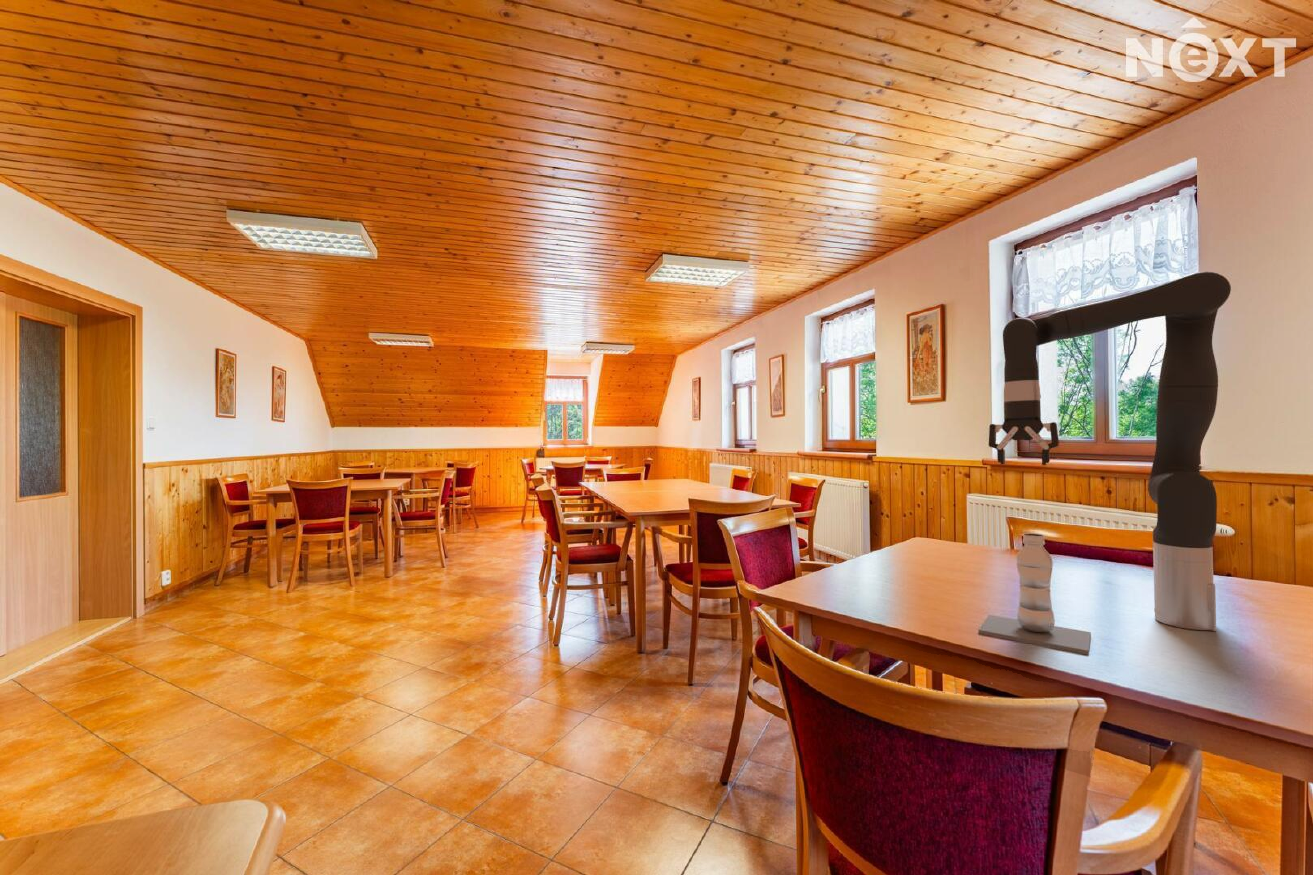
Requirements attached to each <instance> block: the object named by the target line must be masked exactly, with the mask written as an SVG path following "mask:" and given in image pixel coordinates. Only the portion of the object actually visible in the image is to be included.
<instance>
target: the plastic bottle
mask: <svg viewBox="0 0 1313 875" xmlns="http://www.w3.org/2000/svg"><path fill="white" fill-rule="evenodd" d="M1022 537H1023V538H1022V543H1023V544H1024V545H1023V546H1022V548H1021V549H1020V550H1019V551H1018V553H1016V557H1015V562H1016V568H1017V574H1018V583H1019V600H1018V601H1019V602H1018V606H1017V612H1016V616H1017V620H1018V622H1019V624H1020V625H1021V627H1022V628H1024V629H1027V630H1030V631H1035V632H1050V631H1051V630H1052V629H1053V628H1054V626H1055V621H1056V620H1055V613H1054V611H1053V605H1052V598H1051V586H1052V585H1051V580H1052V574H1053V573H1052V572H1053V566H1054V562H1053V561H1054V560H1053V558H1052V556H1051V555H1050V553H1049V552H1048V551H1047V550H1046V549H1045V547H1044V545H1045V544H1046V541H1045V535H1044V534H1041V533H1040V534H1039V533H1028V532H1027V533H1025V532H1024V533H1023V534H1022Z"/></svg>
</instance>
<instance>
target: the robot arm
mask: <svg viewBox="0 0 1313 875" xmlns="http://www.w3.org/2000/svg"><path fill="white" fill-rule="evenodd" d="M1231 291H1232V286H1231V284H1230V282H1229V280H1228V279H1227V278H1226V277H1225V276H1224V275H1222V274H1220V273H1217V272H1213V271H1198V272H1194V273H1191V274H1187V275H1185V276H1182V277H1180V278H1177V279H1174V280H1172V281H1168V282H1166V283H1164V284H1160V285H1158V286H1155V287H1151V288H1148V289H1145V290H1142V291H1137V292H1134V293H1131V294H1128V295H1127V294H1126V295H1123V296H1120V297H1119V296H1118V297H1115V298H1111V299H1105V300H1101V301H1096V302H1092V303H1091V302H1090V303H1087V304H1083V305H1079V306H1074V307H1070V308H1066V309H1061V310H1057V311H1054V312H1052V313H1050V314H1049V315H1046V316H1042V317H1039V318H1038V317H1037V318H1034V319H1030V318H1026V317H1017V318H1013V319H1011V320H1010V321H1009V322H1008V323H1006V325H1005V326H1004V328H1003V331H1002V345H1003V354H1004V369H1003V372H1004V374H1003V375H1004V387H1003V420H1004V421H1003V423H1002V424H996V423H991V424H990V425H989V428H988V429H989V430H988V447H989V448H994V449H995V450H996V451H997V456H996V457H997V462H998V463H1000V465H1002V466H1004V465H1006V449H1005V447H1006V446H1007V445H1008V444H1009V443H1011V441H1012V440H1013V441H1032V440H1034V441H1035V442H1036V443H1037V444H1038V445H1039V446H1040V447H1041V448H1042V449H1041V465H1042V466H1047V464H1048V463H1050V461H1051V459H1050V458H1051V456H1050V453H1051V452H1050V451H1051V449H1053V448H1057V447H1059V446H1060V442H1059V441H1060V440H1059V431H1058V424H1057V422H1055V421H1053V422H1048V423H1047V422H1046V423H1043V422H1042V418H1041V415H1042V412H1041V398H1042V395H1041V386H1040V383H1039V363H1038V358H1037V354H1038V353H1037V352H1038V350H1037V348H1038V346H1041V345H1045V344H1048V343H1052V342H1055V341H1060V340H1068V339H1074V338H1078V337H1083V336H1087V335H1092V334H1095V333H1101V332H1104V331H1108V330H1110V329H1114V328H1117V327H1120V326H1121V327H1122V326H1124V325H1127V324H1131V323H1134V322H1135V323H1136V322H1139V321H1143V320H1149V319H1153V318H1154V319H1155V318H1160V317H1161V318H1162V317H1164V318H1165V347H1164V352H1163V357H1162V360H1161V361H1162V362H1161V366H1160V372H1159V373H1160V374H1159V380H1158V389H1157V398H1156V400H1157V401H1156V422H1155V424H1156V425H1155V434H1156V435H1155V438H1156V439H1155V441H1156V442H1155V444H1156V445H1155V452H1154V458H1153V461H1152V466H1151V471H1150V475H1149V478H1148V482H1147V483H1148V484H1147V493H1148V494H1149V497H1150V499H1151V500H1152V501H1153V502H1154V503H1155V504H1156V506H1157V513H1156V514H1157V516H1156V517H1157V518H1156V519H1157V520H1156V521H1157V522H1156V525H1155V527H1154V528H1153V530H1152V550H1153V551H1152V556H1153V557H1152V558H1153V561H1152V562H1153V591H1154V592H1153V594H1154V596H1153V598H1154V599H1153V600H1154V601H1153V602H1154V607H1153V609H1154V610H1153V611H1154V619H1155V621H1158V622H1160V623H1162V624H1164V625H1169V626H1171V627H1172V626H1173V627H1176V628H1181V629H1187V630H1195V631H1213V632H1217V604H1216V603H1217V602H1216V601H1217V600H1216V585H1215V583H1214V553H1213V551H1214V547H1213V546H1214V545H1213V542H1214V537H1215V535H1216V532H1217V523H1218V521H1217V518H1218V517H1217V513H1218V510H1217V509H1218V500H1217V499H1218V497H1217V496H1218V495H1217V492H1216V491H1217V490H1216V487H1215V485H1214V484H1213V482H1212V481H1211V480H1210V479H1208V477H1206V476H1205V475H1203V474H1201V473H1200V457H1201V456H1200V455H1201V448H1202V445H1203V442H1204V439H1205V437H1206V435H1207V433H1208V430H1209V428H1210V426H1211V425H1212V424H1211V423H1212V422H1213V419H1214V416H1215V413H1216V410H1217V409H1216V408H1217V403H1218V402H1217V401H1218V393H1219V392H1218V390H1219V374H1218V369H1217V368H1218V367H1217V364H1216V363H1217V362H1216V358H1215V354H1214V348H1213V337H1214V336H1213V335H1214V330H1215V329H1214V328H1215V324H1216V317H1217V314H1218V311H1219V309H1220V308H1221V307H1222V306H1223V305H1224V304H1225V303H1226V302H1227V301H1228V299H1229V297H1230V295H1231ZM1044 428H1045V429H1046V431H1047V432H1049V433H1050V439H1051V440H1050V441H1051V442H1050V443H1048V442H1046V440H1045V439H1044V438H1043V437H1042V436H1041V435H1040V433H1041V431H1042V430H1043V429H1044ZM1001 429H1002V430H1003V432H1005V434H1006V435H1005V436H1004V437H1003V439H1002V440H1001V441H1000V443H997V434H998V433H999V432H1000V431H1001Z"/></svg>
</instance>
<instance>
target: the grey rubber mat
mask: <svg viewBox="0 0 1313 875" xmlns="http://www.w3.org/2000/svg"><path fill="white" fill-rule="evenodd" d="M978 634H979V635H984V636H990V637H995V638H1000V639H1004V640H1005V639H1006V640H1010V641H1015V642H1020V643H1025V642H1026V643H1025V644H1031V645H1035V646H1036V645H1037V646H1041V647H1045V648H1050V649H1051V648H1052V649H1057V650H1061V651H1067V652H1071V653H1075V654H1081V655H1087V656H1088V655H1089V654H1090V653H1089V652H1090V647H1091V646H1090V645H1091V638H1092V632H1091V631H1086V630H1079V629H1075V628H1074V629H1073V628H1069V627H1068V628H1067V627H1062V626H1057V625H1054V628H1053V629H1052V630H1051V631H1050V632H1035V631H1030V630H1027V629H1024V628H1022V627H1021V625H1020V624H1019V622H1018V618H1017V619H1015V618H1010V617H1005V616H999V615H994V614H988V615H987V617H986V618H985V620H984V621H983V622H982V624H981V626H980V627H979V629H978Z"/></svg>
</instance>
